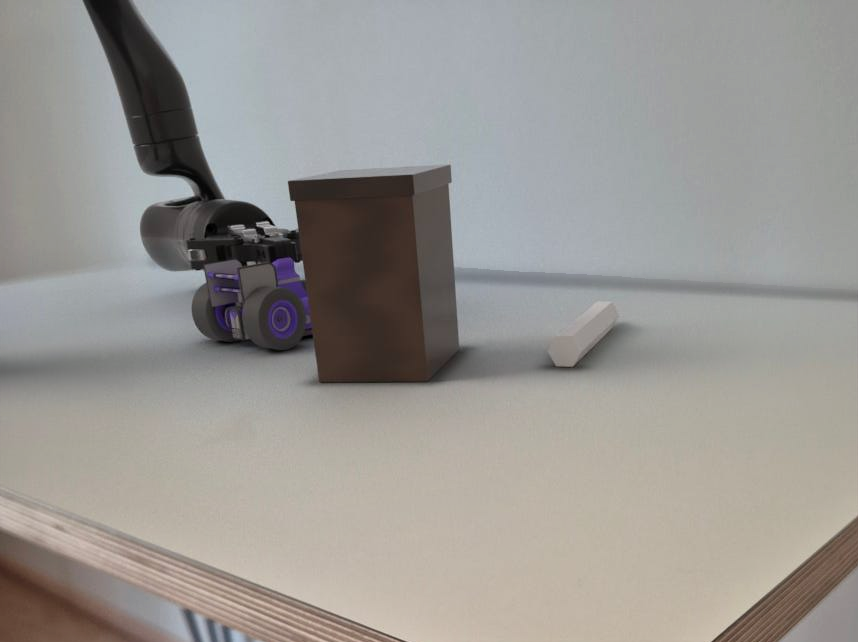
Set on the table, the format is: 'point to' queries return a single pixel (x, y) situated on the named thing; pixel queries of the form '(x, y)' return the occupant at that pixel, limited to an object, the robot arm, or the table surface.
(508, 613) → the table surface
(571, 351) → the grey hexagonal bar
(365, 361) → the brown lidded box
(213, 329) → the toy race car
